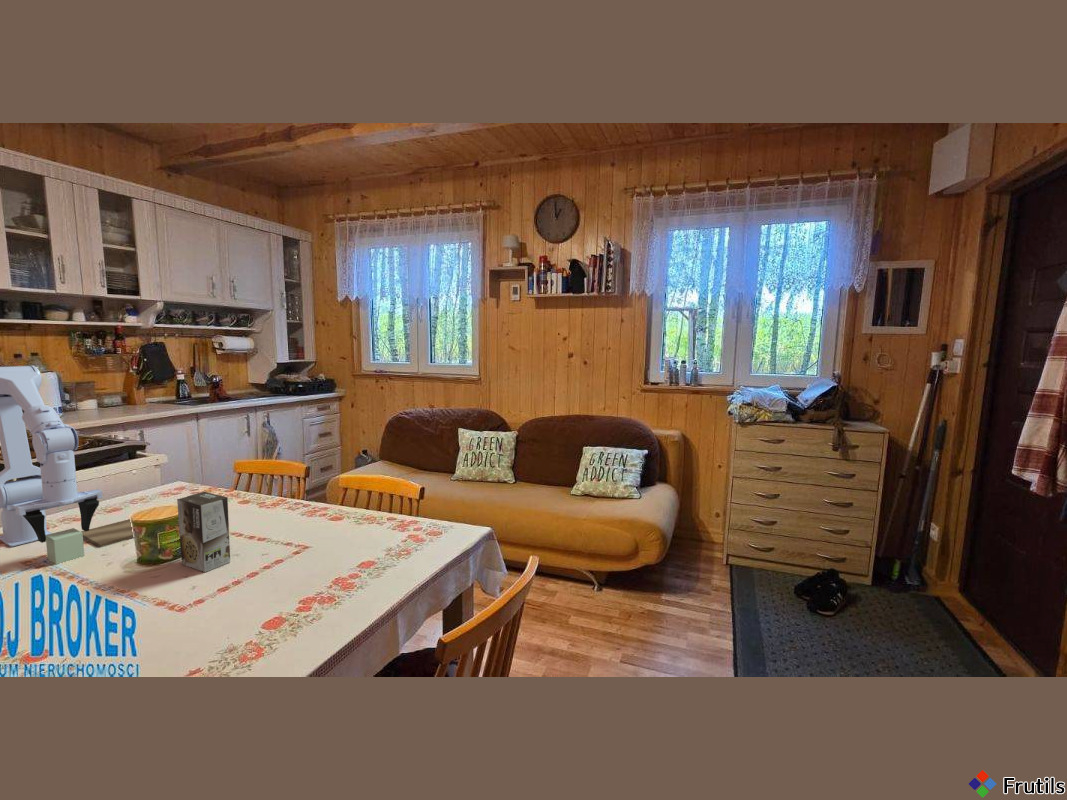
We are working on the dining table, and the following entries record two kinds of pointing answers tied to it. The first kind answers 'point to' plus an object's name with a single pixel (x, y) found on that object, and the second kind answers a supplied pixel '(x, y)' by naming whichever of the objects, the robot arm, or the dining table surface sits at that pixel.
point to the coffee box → (204, 531)
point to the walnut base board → (109, 533)
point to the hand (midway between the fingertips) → (64, 535)
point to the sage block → (64, 545)
